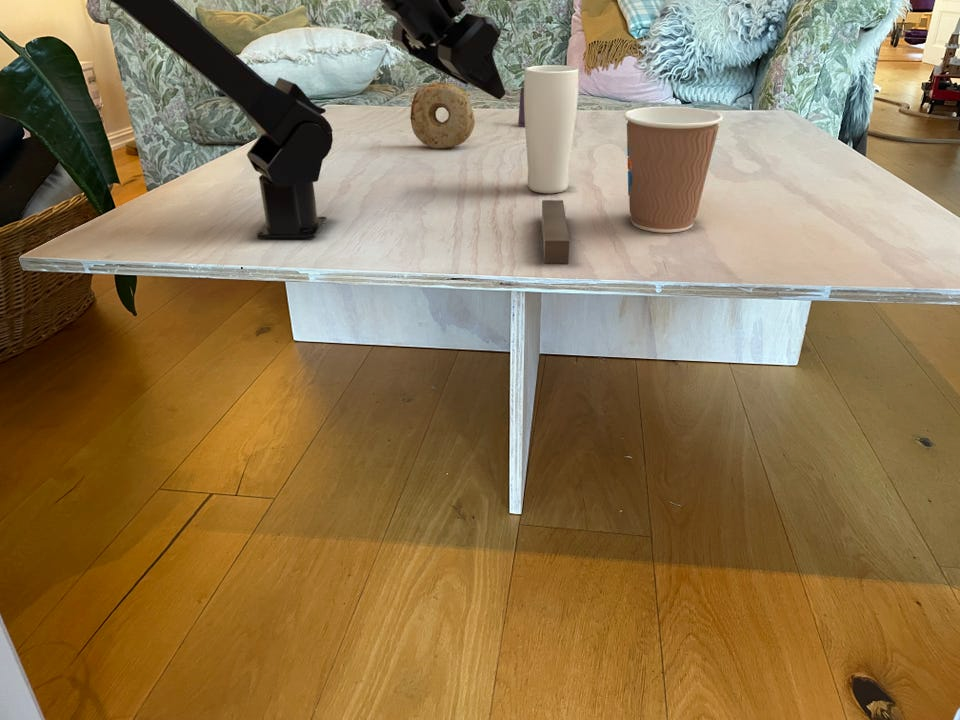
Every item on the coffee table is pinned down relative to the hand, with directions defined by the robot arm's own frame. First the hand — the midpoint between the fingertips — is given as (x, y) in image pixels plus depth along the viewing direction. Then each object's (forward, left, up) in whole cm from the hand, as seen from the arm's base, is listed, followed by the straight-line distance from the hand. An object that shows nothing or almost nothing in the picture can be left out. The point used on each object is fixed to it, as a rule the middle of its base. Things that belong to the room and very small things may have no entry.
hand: (484, 88), depth 89 cm
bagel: (+28, +8, -13) cm, 32 cm away
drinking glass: (+3, -8, -13) cm, 16 cm away
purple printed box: (+47, -9, -13) cm, 50 cm away
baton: (-17, -8, -13) cm, 23 cm away
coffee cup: (-11, -21, -13) cm, 27 cm away
